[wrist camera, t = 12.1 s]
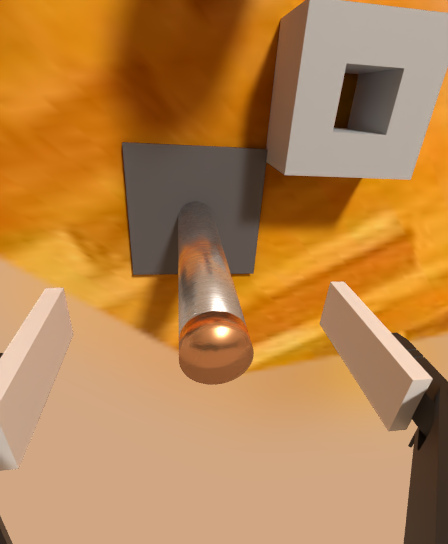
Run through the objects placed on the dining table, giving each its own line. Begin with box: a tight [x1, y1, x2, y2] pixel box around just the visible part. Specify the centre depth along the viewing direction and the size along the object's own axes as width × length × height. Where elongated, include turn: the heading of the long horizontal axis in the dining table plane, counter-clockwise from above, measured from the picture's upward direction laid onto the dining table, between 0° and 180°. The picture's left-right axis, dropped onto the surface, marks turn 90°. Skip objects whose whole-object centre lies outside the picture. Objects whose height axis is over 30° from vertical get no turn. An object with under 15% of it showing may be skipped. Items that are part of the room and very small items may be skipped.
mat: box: [122, 142, 268, 275], centre depth 30 cm, size 12×12×1 cm
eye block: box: [266, 0, 448, 180], centre depth 24 cm, size 10×10×6 cm
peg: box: [178, 201, 253, 384], centre depth 22 cm, size 3×3×18 cm
